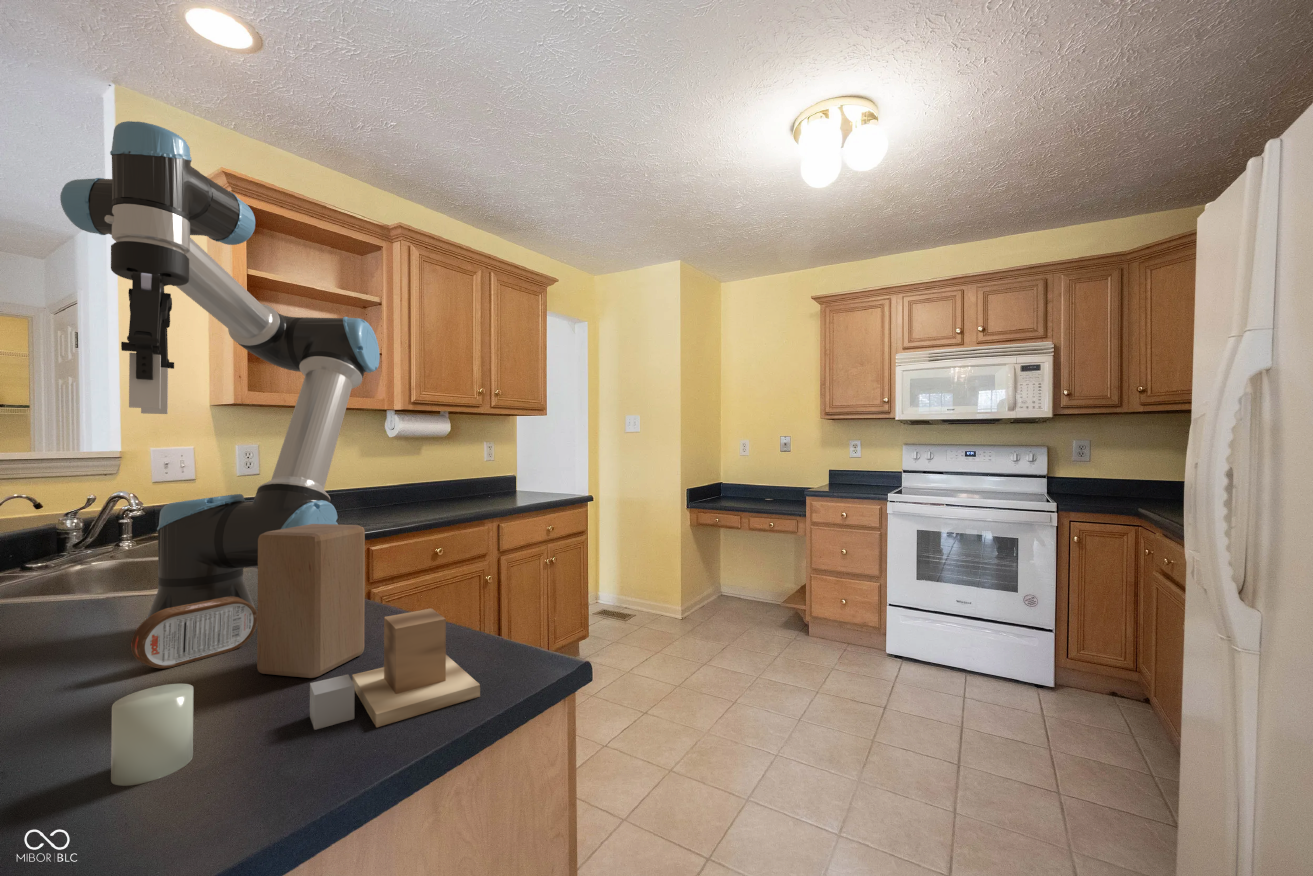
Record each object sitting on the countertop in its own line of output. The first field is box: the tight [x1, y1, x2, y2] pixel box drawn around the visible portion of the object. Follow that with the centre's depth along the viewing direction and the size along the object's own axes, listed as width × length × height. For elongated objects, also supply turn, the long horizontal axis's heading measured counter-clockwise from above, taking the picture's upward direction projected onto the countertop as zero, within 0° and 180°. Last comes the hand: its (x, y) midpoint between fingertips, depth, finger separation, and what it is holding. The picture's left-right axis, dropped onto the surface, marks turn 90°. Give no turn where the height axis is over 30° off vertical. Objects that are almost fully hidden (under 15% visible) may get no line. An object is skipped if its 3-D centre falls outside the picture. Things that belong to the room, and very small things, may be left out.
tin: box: [130, 597, 258, 669], centre depth 83 cm, size 15×3×8 cm, turn 150°
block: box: [256, 524, 366, 679], centre depth 80 cm, size 10×10×20 cm
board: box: [351, 654, 481, 728], centre depth 71 cm, size 14×12×2 cm
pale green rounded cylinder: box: [110, 683, 194, 787], centre depth 54 cm, size 6×6×7 cm
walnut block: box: [383, 608, 447, 694], centre depth 71 cm, size 6×6×8 cm
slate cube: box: [309, 673, 356, 731], centre depth 64 cm, size 4×4×4 cm
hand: (150, 411), depth 71 cm, fingers open, 13 cm apart
